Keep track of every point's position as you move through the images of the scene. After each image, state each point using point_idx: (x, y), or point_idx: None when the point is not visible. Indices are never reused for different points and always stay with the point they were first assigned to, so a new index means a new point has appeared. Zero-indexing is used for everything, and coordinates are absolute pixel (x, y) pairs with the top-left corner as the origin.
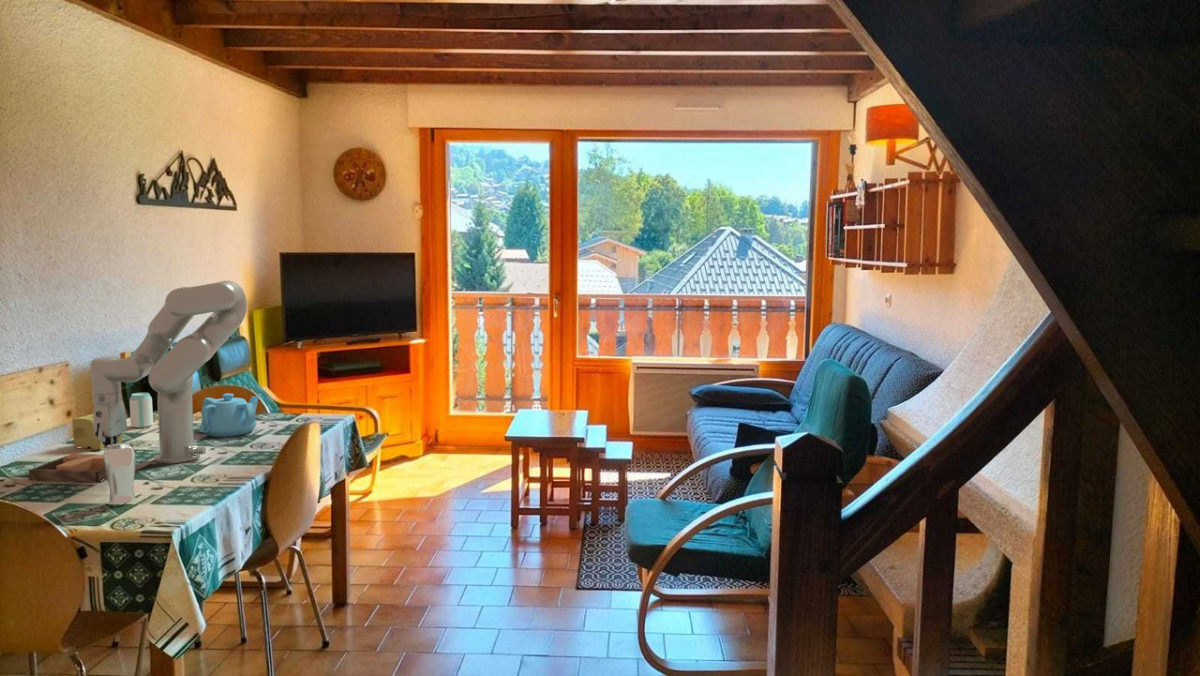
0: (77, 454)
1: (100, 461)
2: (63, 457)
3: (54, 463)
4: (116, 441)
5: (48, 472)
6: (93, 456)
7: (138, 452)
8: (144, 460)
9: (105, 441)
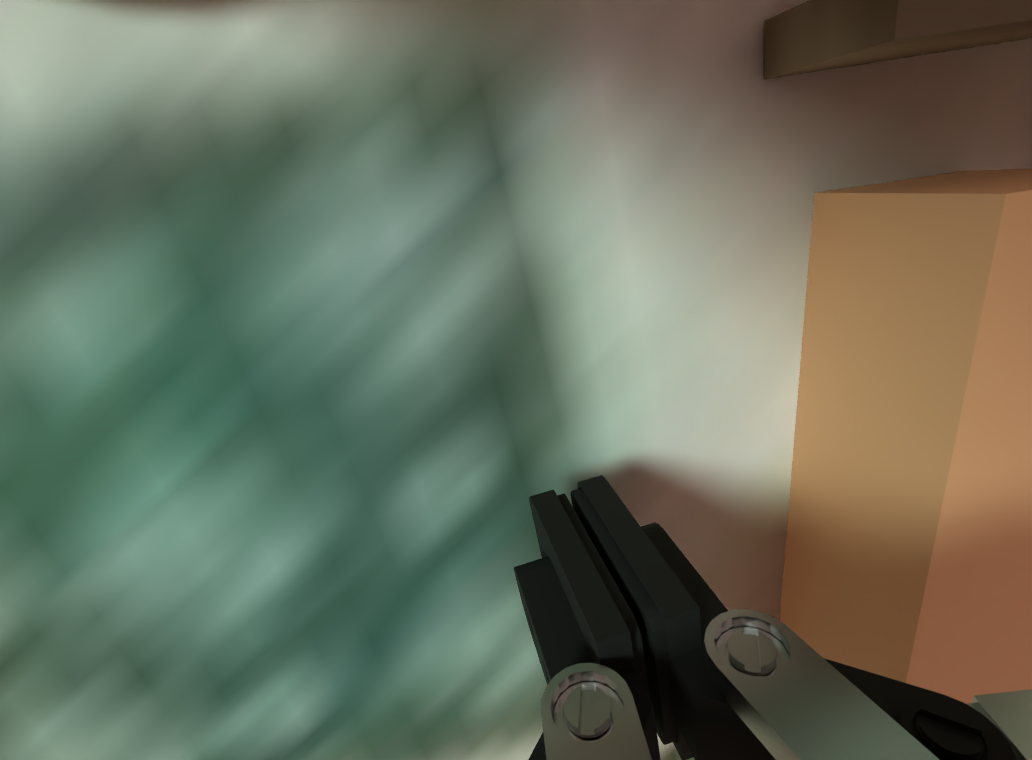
0: None
1: None
2: None
3: None
4: (624, 705)
5: None
6: (1027, 497)
7: (12, 589)
8: (370, 131)
9: (986, 706)
